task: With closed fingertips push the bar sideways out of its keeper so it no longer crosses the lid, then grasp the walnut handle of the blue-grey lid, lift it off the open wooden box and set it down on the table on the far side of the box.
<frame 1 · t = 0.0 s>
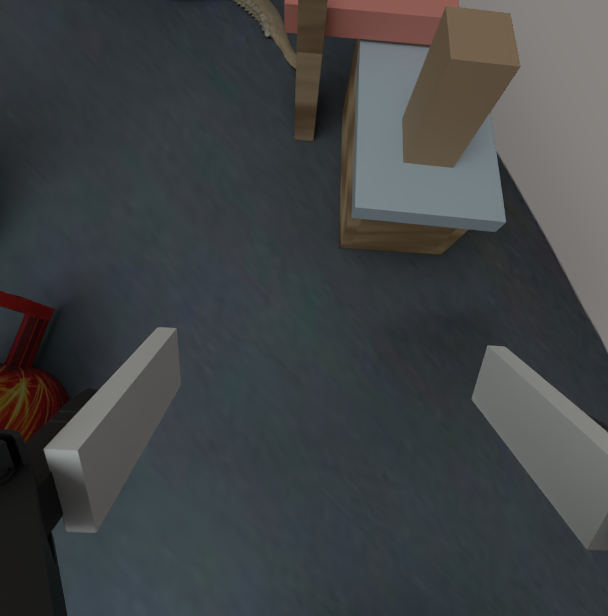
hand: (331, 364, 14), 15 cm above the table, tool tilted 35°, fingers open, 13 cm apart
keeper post: (305, 120, 36), on the table
lid: (419, 134, 26), point 9 cm above the table
mug: (10, 400, 28), on the table
jawbone: (238, 38, 39), on the table
bar: (370, 16, 26), point 11 cm above the table, slide at 0.0 cm
open wooden box: (389, 179, 35), on the table
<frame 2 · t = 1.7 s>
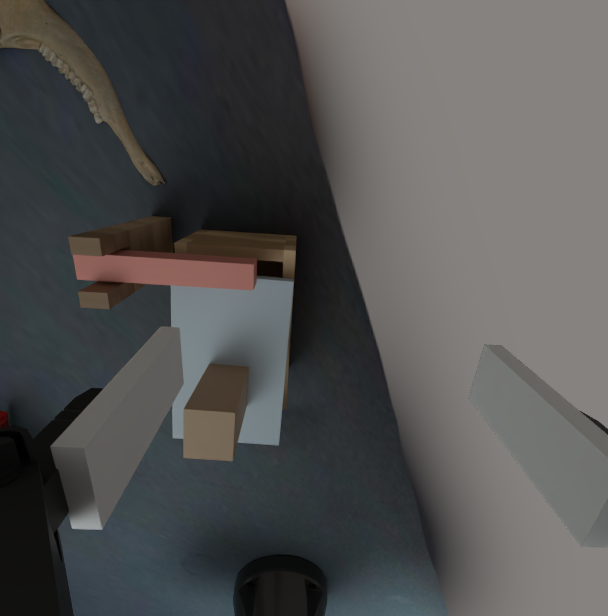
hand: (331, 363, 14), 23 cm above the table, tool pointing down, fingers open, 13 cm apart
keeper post: (163, 241, 35), on the table
lid: (231, 359, 31), point 9 cm above the table, touching open wooden box
jawbone: (66, 113, 32), on the table
bar: (170, 268, 26), point 11 cm above the table, slide at 0.0 cm
open wooden box: (248, 304, 38), on the table
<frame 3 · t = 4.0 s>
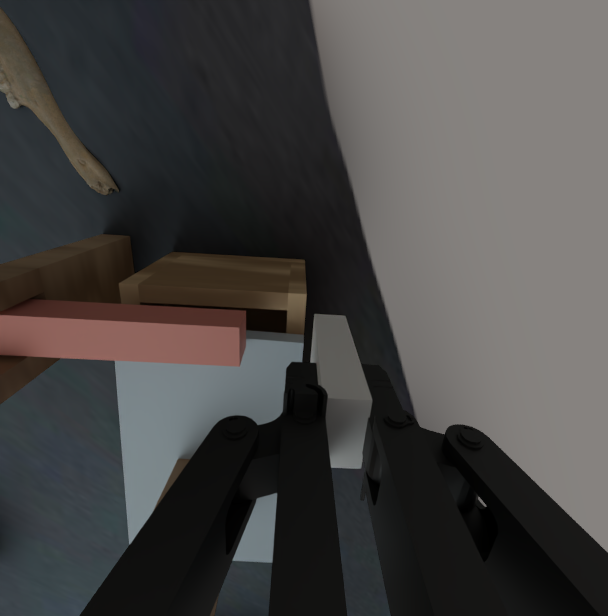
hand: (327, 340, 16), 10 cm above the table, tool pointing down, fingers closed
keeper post: (120, 268, 26), on the table
lid: (212, 446, 21), point 9 cm above the table, touching open wooden box
bar: (105, 330, 16), point 11 cm above the table, slide at 0.0 cm
open wooden box: (239, 349, 28), on the table
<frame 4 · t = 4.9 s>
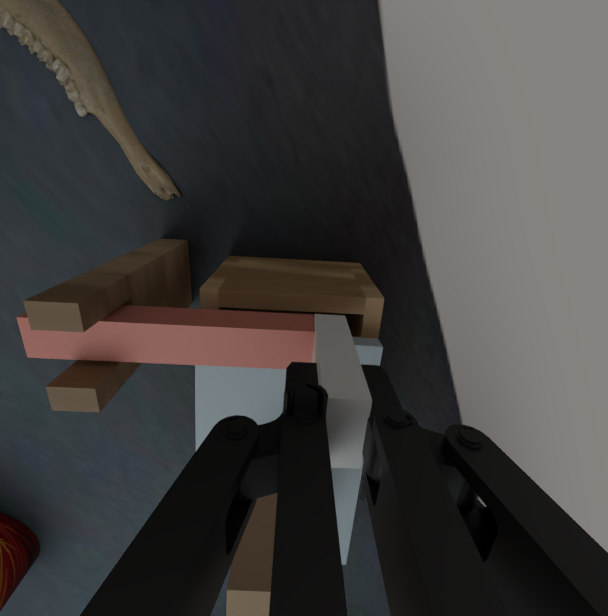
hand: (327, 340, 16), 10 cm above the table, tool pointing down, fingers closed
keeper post: (177, 271, 26), on the table
lid: (280, 449, 21), point 9 cm above the table, touching open wooden box
jawbone: (37, 106, 22), on the table
bar: (177, 335, 16), point 11 cm above the table, slide at 0.9 cm, touching gripper
open wooden box: (290, 351, 29), on the table
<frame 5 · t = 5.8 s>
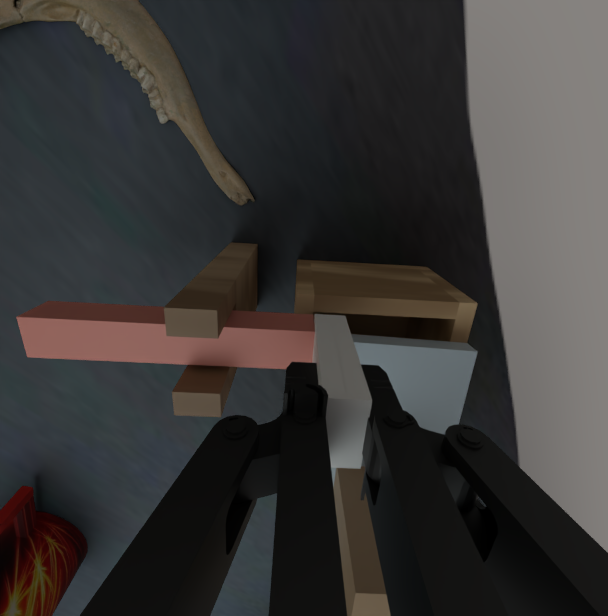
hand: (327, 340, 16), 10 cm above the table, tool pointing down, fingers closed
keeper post: (244, 275, 26), on the table
lid: (361, 452, 21), point 9 cm above the table, touching open wooden box
mug: (33, 527, 36), on the table
jawbone: (116, 113, 23), on the table
bar: (177, 334, 16), point 11 cm above the table, slide at 6.1 cm, touching gripper
open wooden box: (350, 354, 29), on the table
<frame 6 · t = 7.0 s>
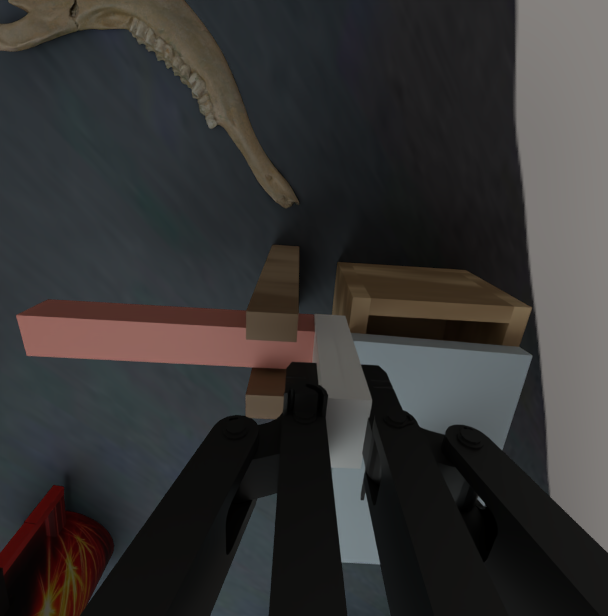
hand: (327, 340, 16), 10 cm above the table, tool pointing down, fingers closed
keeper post: (284, 277, 26), on the table
lid: (408, 454, 22), point 9 cm above the table, touching open wooden box
mug: (60, 526, 36), on the table
jawbone: (163, 119, 23), on the table
bar: (177, 334, 16), point 11 cm above the table, slide at 9.2 cm, touching gripper
open wooden box: (385, 356, 29), on the table
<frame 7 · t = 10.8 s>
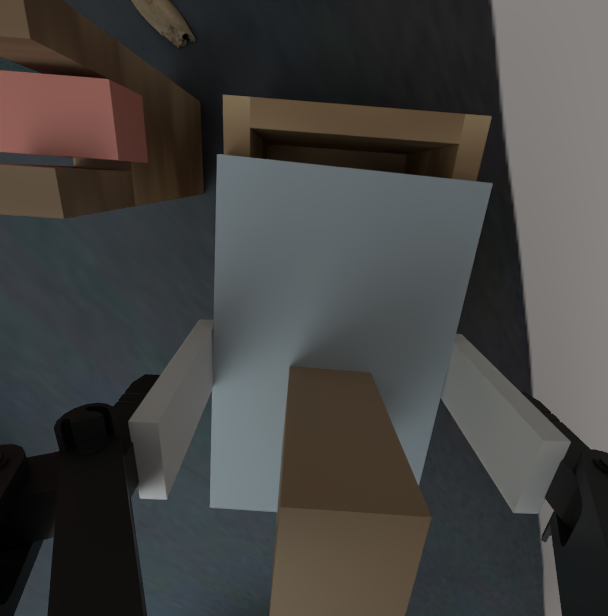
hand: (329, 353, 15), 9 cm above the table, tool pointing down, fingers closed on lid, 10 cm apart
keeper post: (185, 148, 20), on the table
lid: (328, 357, 16), point 9 cm above the table, touching gripper, open wooden box
open wooden box: (325, 264, 23), on the table
when the fingers open (3 cm above the table, at t = 18.0 s): lid drops 2 cm, point 1 cm above the table.
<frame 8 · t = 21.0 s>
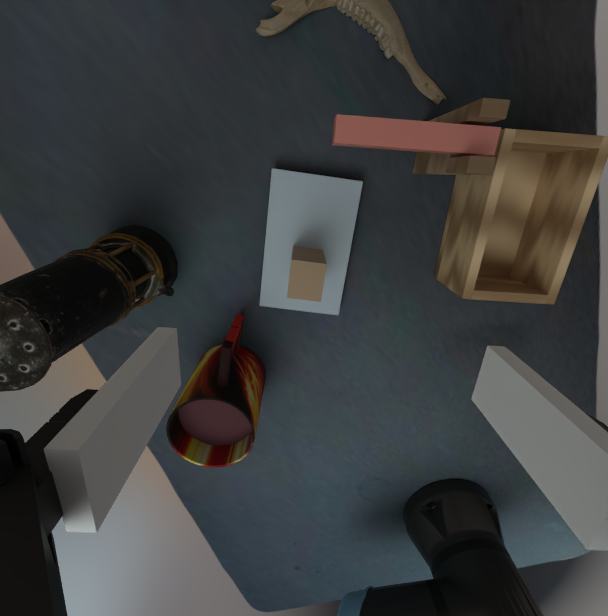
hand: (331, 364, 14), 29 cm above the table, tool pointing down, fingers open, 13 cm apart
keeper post: (425, 150, 37), on the table
lid: (307, 245, 40), point 1 cm above the table
mug: (227, 360, 47), on the table
jawbone: (351, 62, 35), on the table
bar: (413, 136, 27), point 11 cm above the table, slide at 9.3 cm
lantern: (141, 262, 42), on the table
open wooden box: (489, 215, 40), on the table
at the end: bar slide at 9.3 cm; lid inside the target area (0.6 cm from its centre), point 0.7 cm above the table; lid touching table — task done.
